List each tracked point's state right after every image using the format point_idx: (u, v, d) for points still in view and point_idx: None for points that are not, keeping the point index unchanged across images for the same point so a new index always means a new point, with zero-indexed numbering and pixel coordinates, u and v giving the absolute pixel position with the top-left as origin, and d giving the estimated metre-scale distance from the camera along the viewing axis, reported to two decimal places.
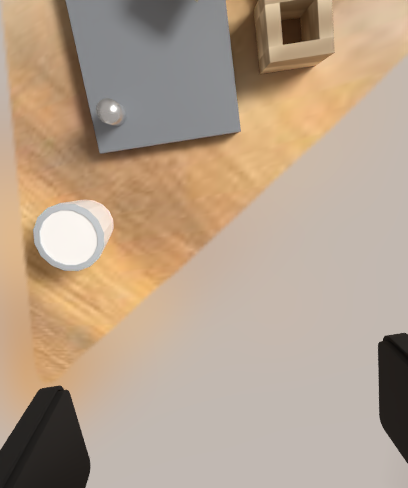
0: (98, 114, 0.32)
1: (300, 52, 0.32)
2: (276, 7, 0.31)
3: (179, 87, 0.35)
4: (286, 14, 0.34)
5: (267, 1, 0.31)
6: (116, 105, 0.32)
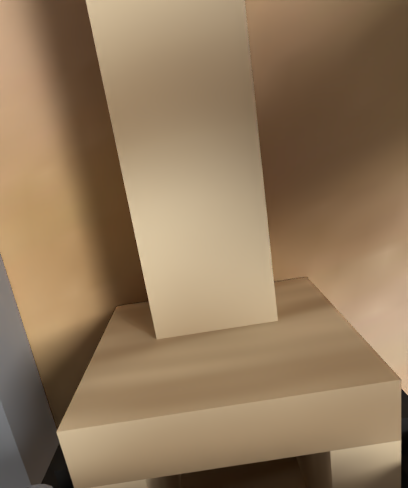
0: None
1: None
2: None
3: None
4: None
5: (84, 477, 0.06)
6: None
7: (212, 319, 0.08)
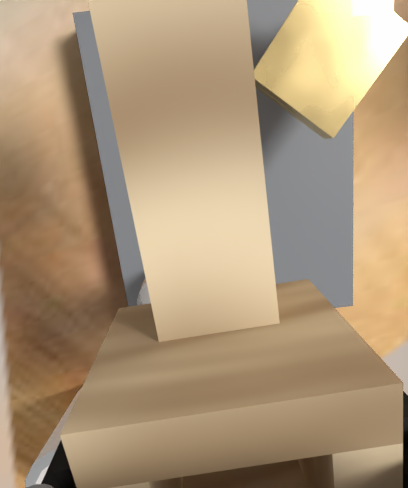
0: None
1: None
2: None
3: None
4: None
5: (88, 480, 0.06)
6: None
7: (214, 322, 0.08)
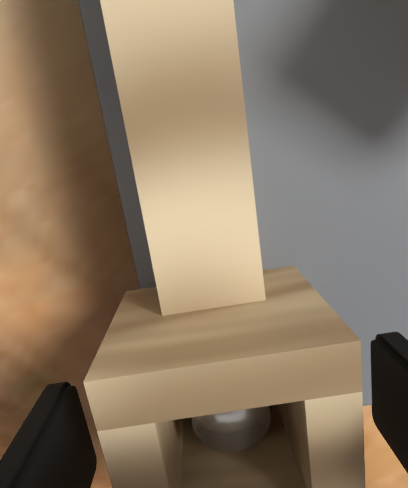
0: (199, 430, 0.10)
1: None
2: (143, 437, 0.08)
3: (401, 282, 0.13)
4: None
5: (104, 420, 0.08)
6: None
7: (209, 298, 0.10)
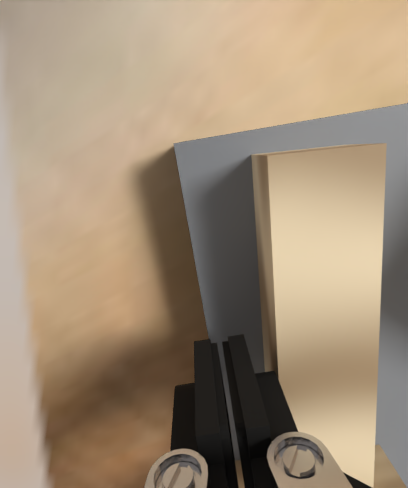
0: None
1: None
2: None
3: None
4: None
5: None
6: None
7: None
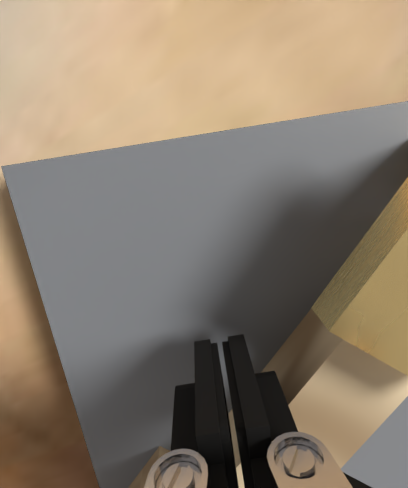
0: None
1: None
2: None
3: None
4: None
5: None
6: None
7: None
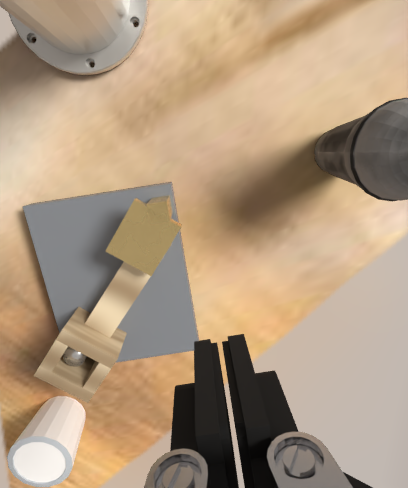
0: (65, 360, 0.35)
1: (62, 385, 0.34)
2: (63, 347, 0.33)
3: (142, 316, 0.38)
4: None
5: (59, 339, 0.33)
6: None
7: (98, 328, 0.36)
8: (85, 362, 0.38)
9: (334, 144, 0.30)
